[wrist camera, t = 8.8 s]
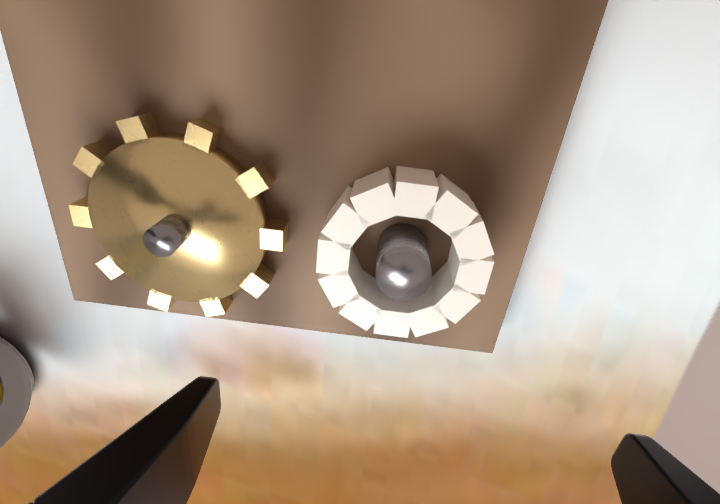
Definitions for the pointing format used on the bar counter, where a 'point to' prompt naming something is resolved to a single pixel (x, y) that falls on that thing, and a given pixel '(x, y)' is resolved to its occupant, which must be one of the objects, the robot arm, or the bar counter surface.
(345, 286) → the ring gear
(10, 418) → the pocket watch
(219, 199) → the brass drive gear
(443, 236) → the gear board
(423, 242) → the steel peg
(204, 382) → the robot arm
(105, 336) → the bar counter surface
